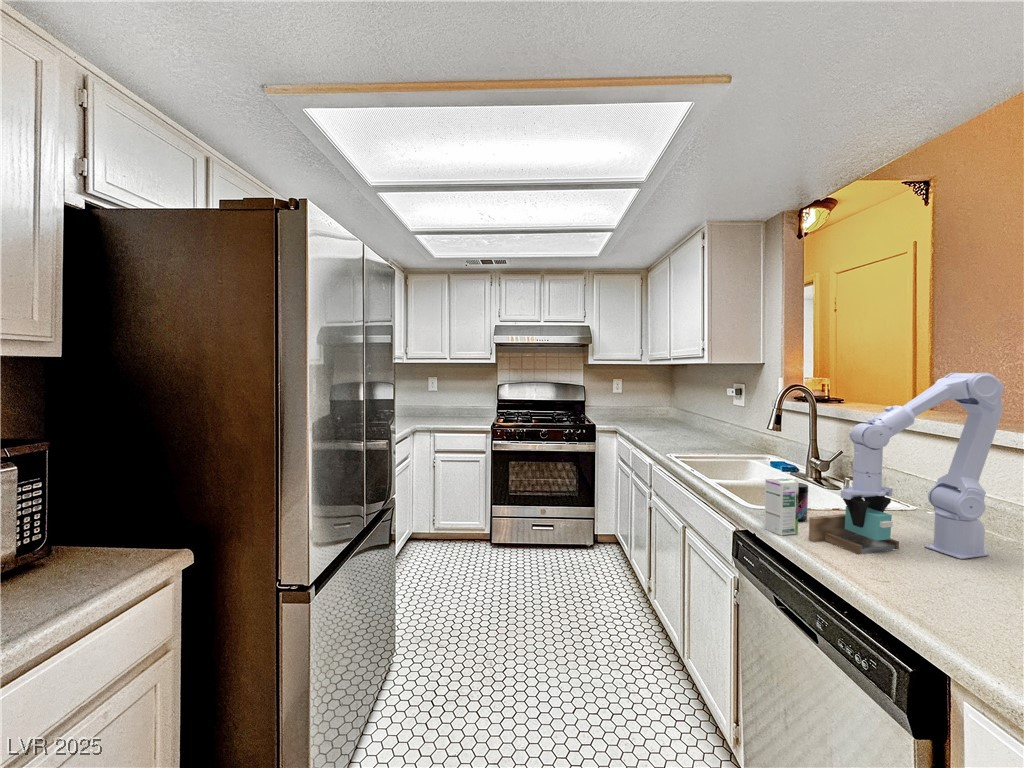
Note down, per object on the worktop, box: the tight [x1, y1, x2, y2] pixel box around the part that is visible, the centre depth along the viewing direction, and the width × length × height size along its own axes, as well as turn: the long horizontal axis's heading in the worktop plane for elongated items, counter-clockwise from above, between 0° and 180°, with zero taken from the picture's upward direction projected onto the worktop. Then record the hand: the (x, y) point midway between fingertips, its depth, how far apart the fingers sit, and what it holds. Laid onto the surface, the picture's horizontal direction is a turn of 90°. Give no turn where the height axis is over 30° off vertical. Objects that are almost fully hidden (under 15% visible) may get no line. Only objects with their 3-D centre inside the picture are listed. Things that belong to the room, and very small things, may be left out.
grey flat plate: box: [835, 533, 895, 554], centre depth 118 cm, size 11×9×1 cm
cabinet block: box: [844, 505, 893, 541], centre depth 116 cm, size 4×9×6 cm, turn 15°
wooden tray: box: [808, 513, 900, 555], centre depth 118 cm, size 20×10×6 cm, turn 105°
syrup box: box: [764, 477, 799, 537], centre depth 127 cm, size 6×6×14 cm
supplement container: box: [798, 481, 809, 523], centre depth 138 cm, size 7×7×10 cm
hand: (865, 525), depth 116 cm, fingers closed on cabinet block, 4 cm apart
